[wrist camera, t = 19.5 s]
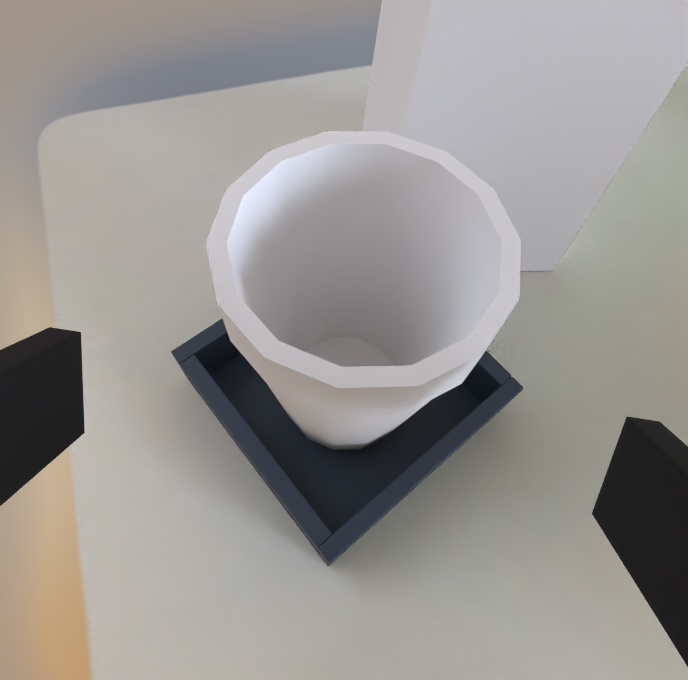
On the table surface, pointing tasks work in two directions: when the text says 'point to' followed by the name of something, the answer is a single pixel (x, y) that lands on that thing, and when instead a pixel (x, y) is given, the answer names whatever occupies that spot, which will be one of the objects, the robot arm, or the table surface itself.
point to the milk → (528, 96)
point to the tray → (336, 465)
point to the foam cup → (361, 278)
